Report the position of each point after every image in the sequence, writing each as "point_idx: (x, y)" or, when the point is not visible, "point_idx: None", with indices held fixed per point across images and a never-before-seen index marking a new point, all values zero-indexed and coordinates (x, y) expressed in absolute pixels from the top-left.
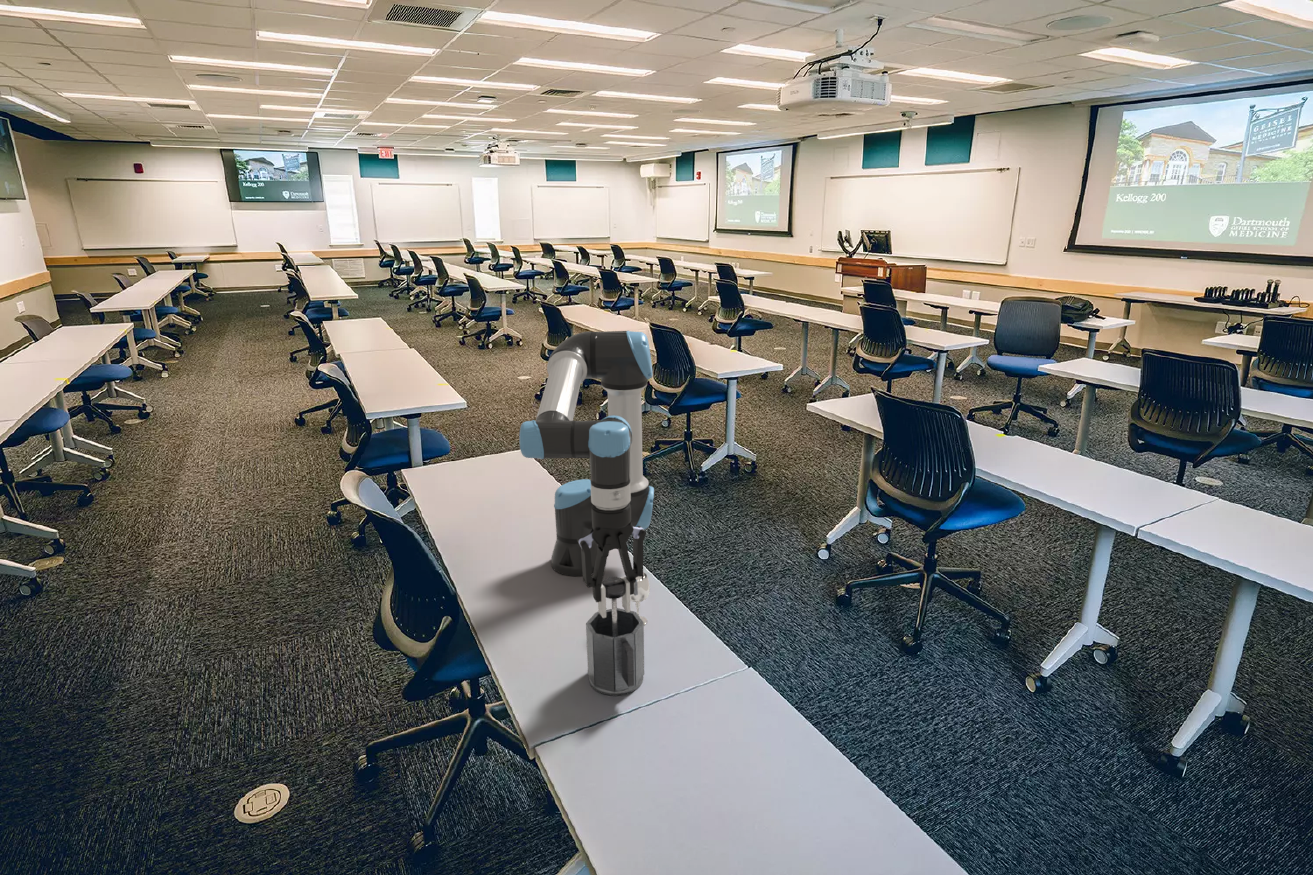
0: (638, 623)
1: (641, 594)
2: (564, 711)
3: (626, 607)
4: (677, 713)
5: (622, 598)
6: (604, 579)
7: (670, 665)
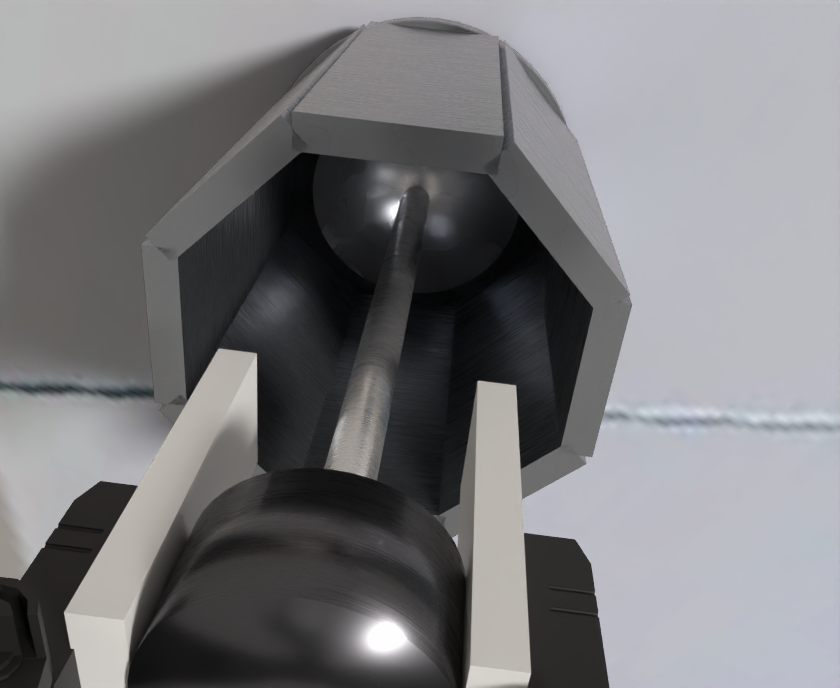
0: (564, 414)
1: None
2: (102, 270)
3: (460, 513)
4: (539, 502)
5: (474, 451)
6: (193, 606)
7: (737, 230)
